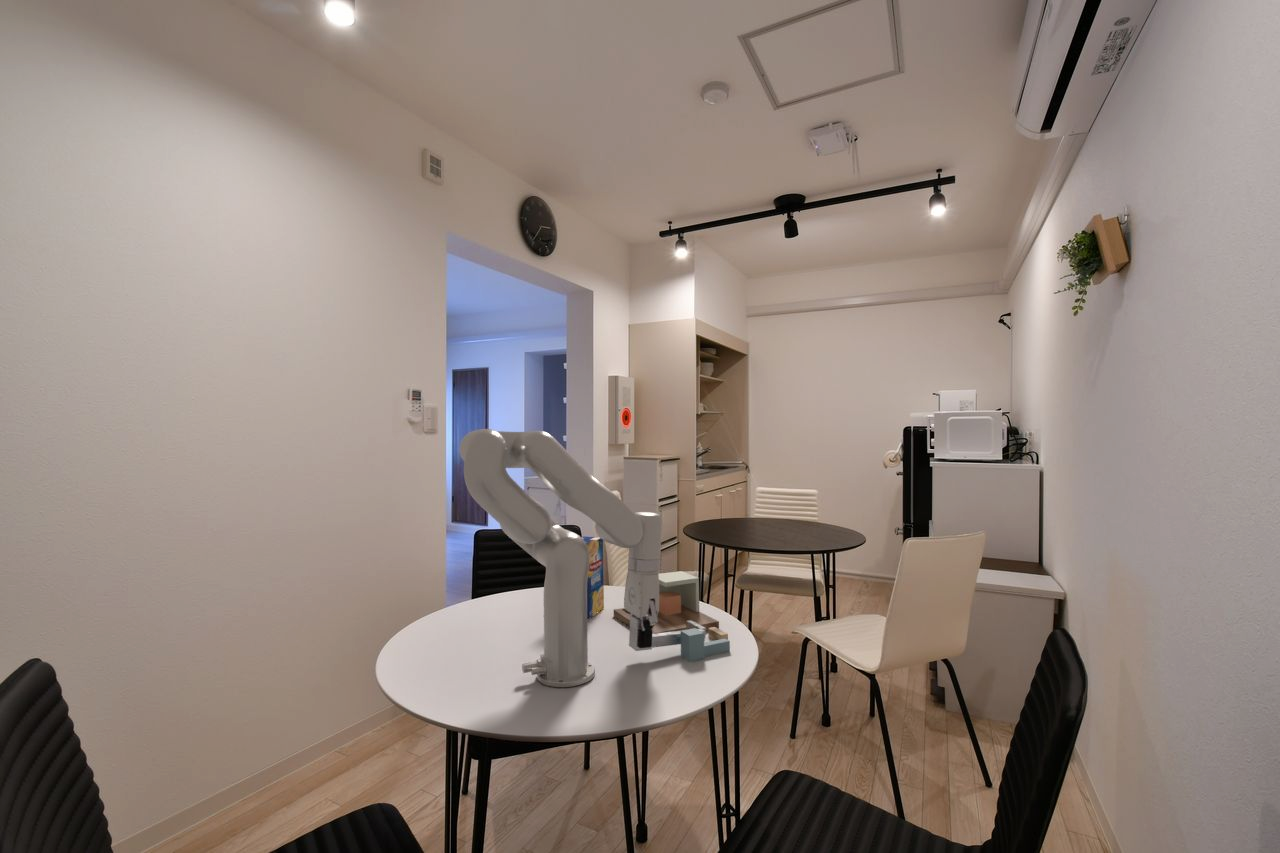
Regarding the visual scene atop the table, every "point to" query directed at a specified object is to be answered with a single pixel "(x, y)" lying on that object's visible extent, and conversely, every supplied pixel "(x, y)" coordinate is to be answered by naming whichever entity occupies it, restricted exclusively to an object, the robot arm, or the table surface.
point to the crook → (658, 634)
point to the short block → (717, 634)
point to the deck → (672, 620)
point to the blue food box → (595, 576)
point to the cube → (669, 603)
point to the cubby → (681, 587)
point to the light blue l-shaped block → (700, 645)
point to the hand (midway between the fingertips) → (640, 643)
